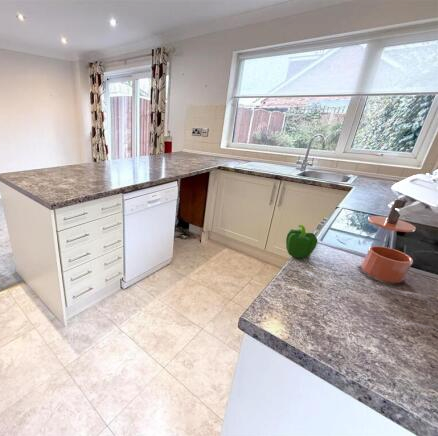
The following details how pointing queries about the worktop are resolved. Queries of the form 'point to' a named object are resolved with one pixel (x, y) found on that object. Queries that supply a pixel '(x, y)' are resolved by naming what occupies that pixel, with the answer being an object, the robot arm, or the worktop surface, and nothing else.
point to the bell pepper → (300, 242)
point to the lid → (393, 219)
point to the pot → (386, 263)
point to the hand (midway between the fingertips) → (394, 210)
